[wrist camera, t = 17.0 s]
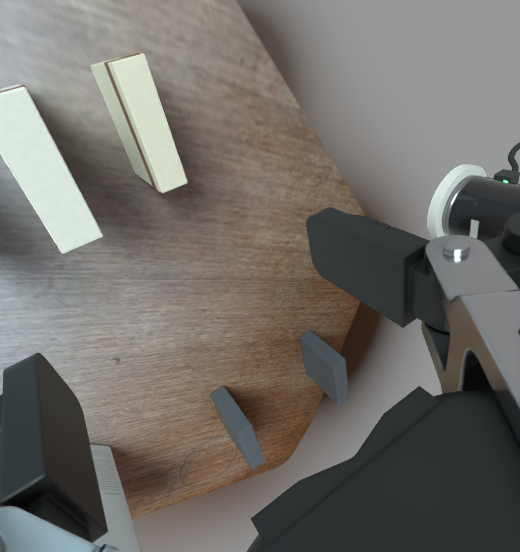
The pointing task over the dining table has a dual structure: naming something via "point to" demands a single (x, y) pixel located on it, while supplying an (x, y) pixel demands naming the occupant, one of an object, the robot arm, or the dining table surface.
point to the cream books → (140, 120)
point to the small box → (113, 503)
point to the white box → (43, 171)
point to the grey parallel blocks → (319, 367)
